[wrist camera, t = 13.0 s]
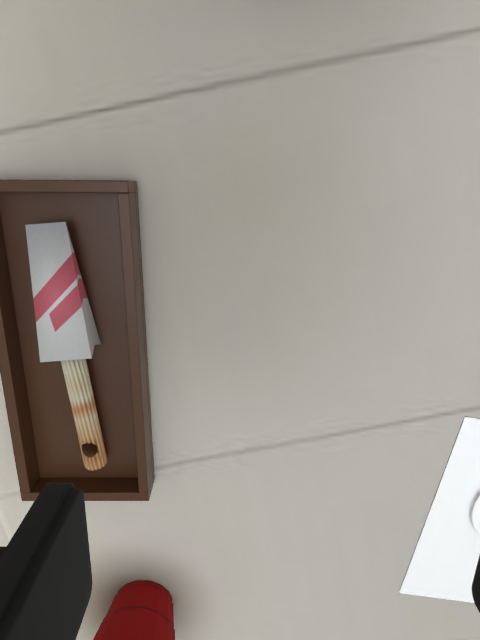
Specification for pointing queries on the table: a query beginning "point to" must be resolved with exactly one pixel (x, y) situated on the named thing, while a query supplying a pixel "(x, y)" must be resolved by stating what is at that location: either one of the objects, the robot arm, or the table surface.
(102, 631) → the plastic cup
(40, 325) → the paintbrush
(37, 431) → the tray
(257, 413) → the table surface
